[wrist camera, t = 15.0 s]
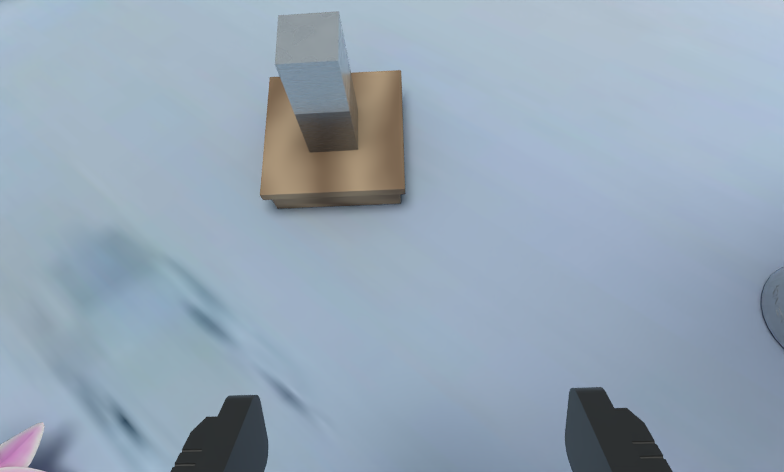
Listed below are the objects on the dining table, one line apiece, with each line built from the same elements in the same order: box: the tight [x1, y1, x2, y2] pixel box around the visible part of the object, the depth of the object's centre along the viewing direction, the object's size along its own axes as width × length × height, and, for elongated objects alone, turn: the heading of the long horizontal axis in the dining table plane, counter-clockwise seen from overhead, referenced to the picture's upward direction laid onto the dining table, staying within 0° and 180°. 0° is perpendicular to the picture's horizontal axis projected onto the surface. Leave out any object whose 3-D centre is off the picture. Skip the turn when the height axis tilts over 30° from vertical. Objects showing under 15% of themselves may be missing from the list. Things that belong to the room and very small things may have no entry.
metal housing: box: [275, 12, 358, 153], centre depth 43 cm, size 4×4×12 cm
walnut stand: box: [260, 70, 405, 209], centre depth 50 cm, size 13×13×4 cm
